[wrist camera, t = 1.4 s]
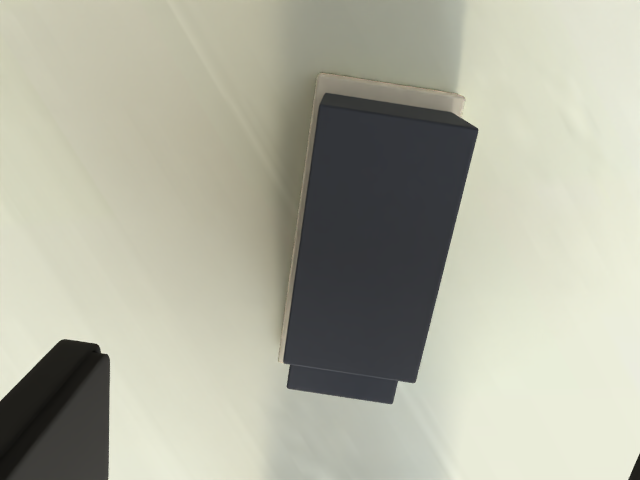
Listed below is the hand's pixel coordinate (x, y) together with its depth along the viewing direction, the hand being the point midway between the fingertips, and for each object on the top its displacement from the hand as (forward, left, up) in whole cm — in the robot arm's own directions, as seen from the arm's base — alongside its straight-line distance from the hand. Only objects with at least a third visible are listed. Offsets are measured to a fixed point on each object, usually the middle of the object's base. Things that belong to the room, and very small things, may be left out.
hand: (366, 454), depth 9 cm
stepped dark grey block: (0, 0, -11) cm, 11 cm away
